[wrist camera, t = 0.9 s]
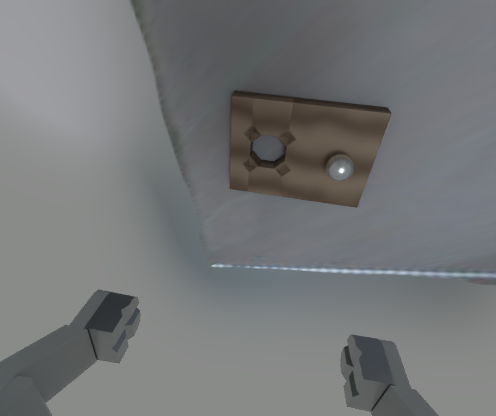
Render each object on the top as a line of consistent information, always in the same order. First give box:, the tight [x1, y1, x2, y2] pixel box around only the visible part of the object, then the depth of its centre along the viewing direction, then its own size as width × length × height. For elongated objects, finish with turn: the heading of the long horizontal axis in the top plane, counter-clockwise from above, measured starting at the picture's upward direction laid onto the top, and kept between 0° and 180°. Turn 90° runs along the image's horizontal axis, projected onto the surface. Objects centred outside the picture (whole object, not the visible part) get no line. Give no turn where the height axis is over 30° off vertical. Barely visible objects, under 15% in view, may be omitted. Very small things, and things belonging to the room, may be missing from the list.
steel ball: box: [326, 154, 354, 181], centre depth 42 cm, size 4×4×4 cm
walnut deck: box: [230, 91, 391, 207], centre depth 45 cm, size 16×22×2 cm
